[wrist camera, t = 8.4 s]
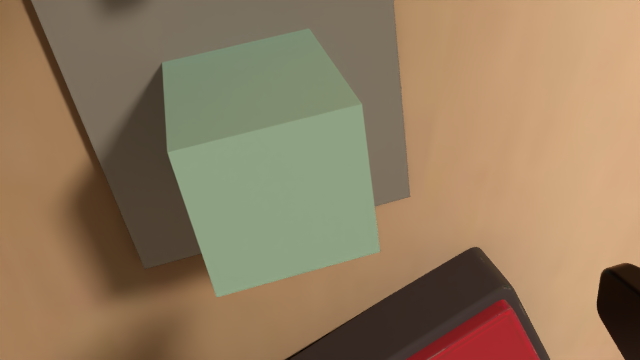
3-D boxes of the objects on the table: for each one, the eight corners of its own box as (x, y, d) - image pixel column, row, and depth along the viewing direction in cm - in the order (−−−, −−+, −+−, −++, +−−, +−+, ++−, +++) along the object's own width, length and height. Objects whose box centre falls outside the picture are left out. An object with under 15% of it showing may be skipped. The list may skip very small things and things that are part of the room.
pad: (381, -89, 18) (386, -87, 17) (406, 191, 23) (410, 196, 23) (29, -14, 16) (27, -10, 16) (144, 262, 22) (144, 269, 22)
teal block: (309, 28, 18) (361, 103, 14) (329, 153, 21) (380, 251, 16) (162, 62, 18) (167, 152, 13) (201, 186, 20) (216, 297, 16)
